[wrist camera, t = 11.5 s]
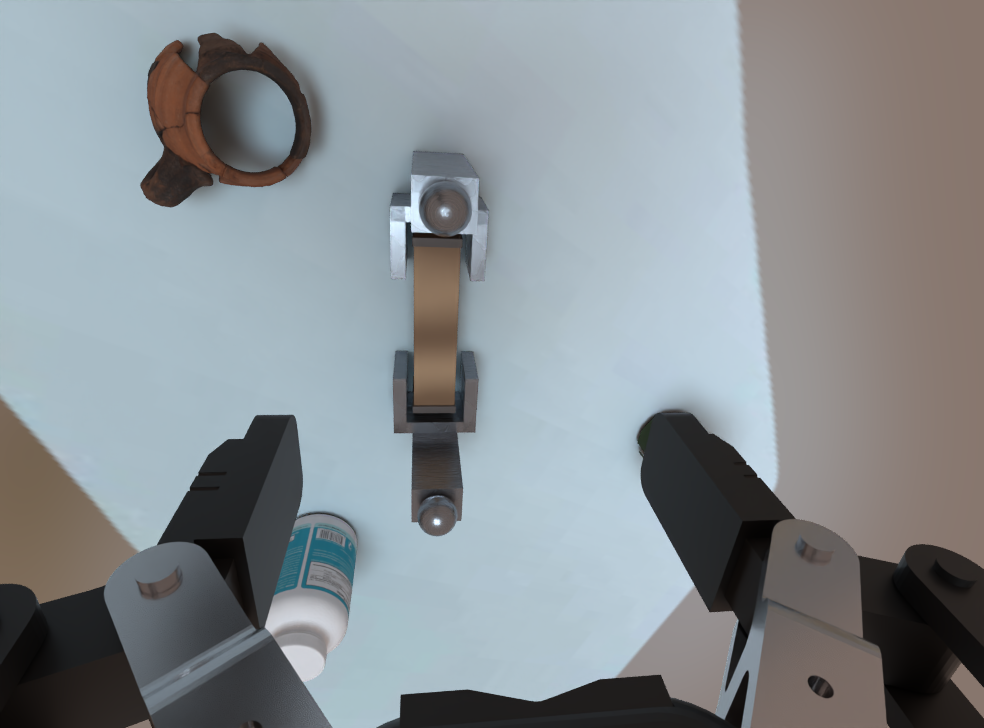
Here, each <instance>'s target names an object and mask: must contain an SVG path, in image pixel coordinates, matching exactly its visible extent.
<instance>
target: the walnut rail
mask: <svg viewBox="0 0 984 728" xmlns="http://www.w3.org/2000/svg"><path fill="white" fill-rule="evenodd" d="M462 240H463V239H462V236H461V234H456V235H454V236H449V237H443V236H438V235H436V234H434V233H421V232H413V237H412V246H414V376H413V413H456V404H455V377H456V351H457V326H458V300H459V274H460V248H462Z"/></svg>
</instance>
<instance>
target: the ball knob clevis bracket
mask: <svg viewBox="0 0 984 728" xmlns="http://www.w3.org/2000/svg"><path fill="white" fill-rule="evenodd" d="M478 193H479V177H478V176H477V174H476V173H475V171H474V170H473V168H472V166H471V165H470V163H469V162H468V160H467V159H466V157H465V156H464V154H457V153H439V152H422V151H413V161H412V171H411V194H404V193H393V195H392V199H391V203H390V246H391V279H406V266H407V222H411V232H421V233H434V234H436V235H438V236H443V237H449V236H454V235H456V234H467V235H466V258H465V262H466V265H467V269H468V273H469V277H470V281H484V280H485V264H486V248H487V231H488V215H489V210H488V208H487V206H486V205H485V203H484V201H483V199H482V197H478ZM477 393H478V375H477V370H476V365H475V360H474V355H473V352H465V351H461V370H460V392H455V404H456V413H413V392H408V352H407V351H396V352H395V363H394V374H393V404H394V433H413V446H412V522H418V523H419V525H420V527H421V529H422V530H423V531H424V532H425V533H427V534H429V535H432V536H442V535H445V534H447V533H448V532H450V531H451V530H452V529H453V527H454V526H455V524H456V521H461V516H462V497H463V484H462V475H461V465H460V456H459V447H458V437H457V432H475V426H476V410H477Z"/></svg>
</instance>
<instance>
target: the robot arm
mask: <svg viewBox="0 0 984 728" xmlns="http://www.w3.org/2000/svg"><path fill="white" fill-rule="evenodd" d="M198 473H199V475H198V476H196V478H195V479H194V481H193V483H192V485H191V486H190V491H188V492H187V493H186V495H185V497H184V499H183V500H182V502H181V504H180V505H179V507H178V509H177V511H176V512H175V514H174V516H173V518H172V519H171V521H170V523H169V525H168V526H167V528H166V530H165V532H164V533H163V535H162V537H161V539H160V540H159V542H158V544H157V546H153V547H151V548H148V549H145V550H143V551H141V552H139V553H137V554H136V555H134V556H132V557H131V558H129V559H128V560H126V561H125V562H124V563H123V564H121V565H120V566H119V567H118V568H117V569H116V570H115V571H114V573H113V574H112V575H111V576H110V578H109V580H108V581H107V584H106V585H105V586H102V587H99V588H96V589H93V590H90V591H86V592H82V593H79V594H75V595H71V596H68V597H64V598H60V599H57V600H53V601H50V602H46V603H42V604H39V603H38V600H37V598H36V596H35V594H34V593H33V592H32V590H30V589H29V588H27V587H25V586H22V585H17V584H0V728H126V727H128V726H131V725H134V724H137V723H139V722H142V721H145V720H147V719H149V721H150V724H151V726H152V728H332V726H331V725H330V723H329V722H328V720H327V719H326V717H325V716H324V714H323V713H322V711H321V709H320V708H319V706H318V705H317V703H316V702H315V700H314V699H313V697H312V696H311V694H310V693H309V691H308V690H307V688H306V686H305V685H304V683H303V682H302V680H301V679H300V677H299V676H298V674H297V673H296V671H295V670H294V668H293V666H292V665H291V663H290V662H289V660H288V659H287V657H286V656H285V654H284V653H283V651H282V650H281V648H280V647H279V645H278V643H277V642H276V640H275V639H274V637H273V636H272V635H271V633H270V632H269V631H268V630H267V629H266V628H265V625H266V621H267V618H268V614H269V611H270V607H271V604H272V600H273V597H274V593H275V590H276V586H277V583H278V579H279V576H280V572H281V569H282V565H283V562H284V558H285V555H286V551H287V548H288V544H289V541H290V537H291V534H292V530H293V527H294V524H295V520H296V517H297V513H298V510H299V506H300V502H301V497H302V487H303V475H302V465H301V456H300V448H299V439H298V430H297V423H296V419H295V416H294V415H257V416H255V417H254V419H253V421H252V423H251V425H250V427H249V429H248V431H247V433H246V435H245V437H244V439H228V440H227V441H225V442H224V443H223V444H222V445H220V446H219V447H218V448H216V449H215V450H214V451H213V452H211V453H210V454H209V455H208V457H207V458H206V460H205V462H204V464H203V465H202V467H201V469H200V471H199V472H198ZM641 484H642V488H643V491H644V494H645V496H646V498H647V500H648V501H649V503H650V505H651V507H652V509H653V510H654V512H655V514H656V516H657V518H658V519H659V521H660V523H661V525H662V527H663V529H664V530H665V532H666V534H667V536H668V538H669V539H670V541H671V543H672V545H673V547H674V548H675V550H676V552H677V554H678V556H679V557H680V559H681V561H682V563H683V565H684V567H685V568H686V570H687V572H688V574H689V576H690V577H691V579H692V581H693V583H694V585H695V586H696V588H697V590H698V592H699V594H700V596H701V597H702V599H703V601H704V602H705V604H706V606H707V608H708V610H709V612H721V611H733V612H734V613H735V615H736V616H737V618H738V620H737V622H736V625H735V627H734V630H733V634H732V639H731V643H730V648H729V653H728V658H727V663H726V668H725V672H724V677H723V682H722V687H721V692H720V697H719V701H718V706H717V710H716V713H715V714H713V713H711V712H710V711H708V710H706V709H703V708H701V707H699V706H696V705H694V704H692V703H689V702H685V701H682V700H679V699H676V698H671V697H670V696H669V694H668V691H667V689H666V686H665V684H664V682H663V679H662V677H661V675H651V676H638V677H626V678H612V679H600V680H597V681H594V682H592V683H589V684H586V685H584V686H581V687H578V688H576V689H573V690H571V691H568V692H565V693H563V694H560V695H557V696H555V697H552V698H549V699H547V700H544V701H538V702H534V701H527V700H522V699H516V698H511V697H506V696H500V695H495V694H489V693H484V692H478V691H473V690H455V691H442V692H429V693H416V694H403V695H401V701H400V718H397V719H395V720H392V721H390V722H387V723H385V724H383V725H381V726H379V727H377V728H887V724H888V726H889V727H890V728H984V718H983V717H982V716H981V715H980V714H979V712H978V711H977V710H976V709H975V708H974V706H973V705H972V704H971V703H970V702H969V700H968V699H967V698H966V697H965V696H964V695H963V693H962V692H961V691H960V690H959V688H958V687H957V686H956V685H955V684H954V683H953V681H952V680H951V679H950V678H951V677H952V675H953V674H954V672H955V671H956V670H957V668H958V667H959V665H960V664H961V663H963V665H965V667H966V668H967V669H968V670H969V671H970V672H971V674H972V675H973V676H974V677H975V678H976V679H977V680H978V682H979V683H980V684H981V685H982V686H983V687H984V569H982V568H981V567H980V566H978V565H977V564H975V563H974V562H972V561H971V560H969V559H967V558H965V557H963V556H961V555H959V554H957V553H955V552H953V551H950V550H947V549H944V548H941V547H937V546H933V545H925V544H920V545H913V546H911V547H909V548H908V549H907V550H906V551H905V553H904V555H903V557H902V559H901V561H900V562H899V564H896V563H891V562H886V561H881V560H877V559H871V558H866V557H862V556H857V554H856V552H855V551H854V549H853V548H852V547H851V546H850V545H849V544H848V543H847V542H846V541H845V540H844V539H843V538H841V537H840V536H839V535H837V534H836V533H834V532H833V531H831V530H829V529H827V528H825V527H823V526H821V525H818V524H816V523H813V522H809V521H805V520H799V519H795V518H794V516H793V515H792V514H791V513H790V512H789V510H788V509H787V508H786V507H785V506H784V505H783V504H782V503H781V501H780V500H779V499H778V498H777V497H776V496H775V494H774V493H773V492H772V491H771V490H770V489H769V488H768V486H767V485H766V484H765V483H764V482H763V481H762V479H761V478H757V474H756V473H755V471H754V470H753V469H752V468H751V467H750V466H749V465H746V461H745V460H744V459H743V458H742V457H741V455H740V454H739V453H738V452H737V451H736V450H735V448H734V447H733V446H731V445H729V444H728V443H726V442H725V441H723V440H722V439H720V438H719V437H717V436H716V435H714V434H709V433H708V432H707V431H706V430H705V429H704V427H703V426H702V425H701V424H700V423H699V421H698V420H697V419H696V418H695V417H694V416H693V415H692V414H691V413H657V414H656V415H655V416H654V418H653V420H652V424H651V428H650V432H649V436H648V441H647V445H646V449H645V453H644V458H643V462H642V466H641Z"/></svg>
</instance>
